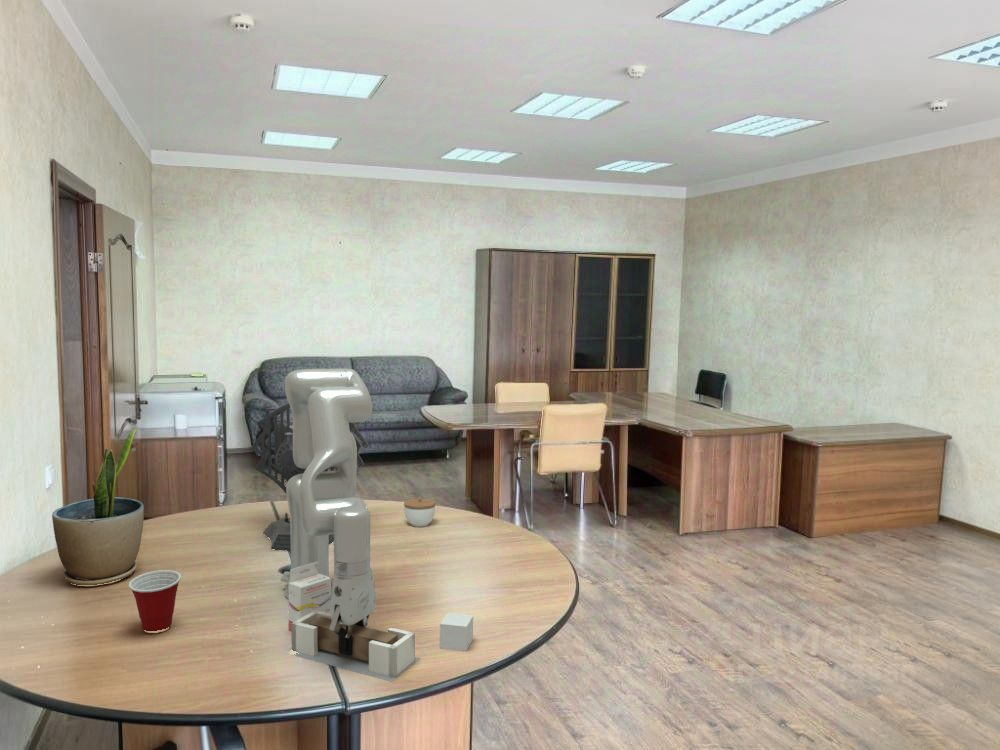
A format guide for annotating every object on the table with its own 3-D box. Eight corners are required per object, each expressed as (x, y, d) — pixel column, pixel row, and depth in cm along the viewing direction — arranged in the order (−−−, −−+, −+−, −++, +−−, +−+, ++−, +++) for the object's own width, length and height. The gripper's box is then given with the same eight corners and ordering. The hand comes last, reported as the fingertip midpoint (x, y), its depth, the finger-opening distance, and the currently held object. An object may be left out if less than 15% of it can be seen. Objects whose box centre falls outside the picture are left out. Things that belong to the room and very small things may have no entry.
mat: (285, 654, 158) (285, 652, 158) (318, 634, 168) (318, 632, 168) (391, 683, 147) (391, 681, 147) (420, 659, 157) (420, 658, 157)
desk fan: (330, 514, 265) (330, 389, 261) (382, 536, 241) (382, 398, 237) (239, 532, 243) (237, 395, 238) (286, 558, 218) (285, 407, 214)
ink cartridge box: (301, 638, 166) (300, 574, 165) (288, 632, 170) (287, 569, 168) (332, 626, 173) (331, 564, 172) (318, 620, 176) (318, 559, 175)
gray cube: (439, 650, 162) (439, 623, 161) (447, 638, 168) (447, 612, 167) (466, 653, 161) (466, 626, 160) (473, 641, 166) (473, 615, 166)
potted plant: (99, 597, 188) (94, 441, 184) (36, 585, 195) (29, 434, 191) (162, 569, 208) (158, 428, 204) (102, 560, 215) (98, 423, 211)
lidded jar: (424, 518, 263) (424, 492, 262) (441, 525, 254) (441, 498, 253) (398, 523, 256) (398, 496, 255) (415, 530, 247) (415, 503, 247)
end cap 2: (414, 660, 156) (414, 633, 155) (393, 677, 149) (393, 648, 148) (390, 654, 158) (390, 627, 158) (368, 670, 151) (368, 642, 151)
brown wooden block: (308, 645, 160) (308, 623, 160) (320, 638, 164) (320, 616, 163) (386, 665, 152) (386, 642, 151) (397, 657, 155) (397, 634, 155)
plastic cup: (119, 637, 165) (117, 585, 164) (148, 617, 176) (147, 568, 175) (164, 641, 164) (163, 588, 163) (191, 621, 174) (190, 571, 173)
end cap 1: (291, 650, 160) (291, 623, 159) (315, 635, 167) (315, 609, 166) (313, 656, 157) (313, 628, 157) (337, 641, 164) (337, 615, 164)
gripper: (342, 581, 147) (342, 670, 149) (389, 556, 162) (389, 637, 164) (312, 575, 150) (312, 662, 152) (360, 551, 165) (361, 630, 167)
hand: (352, 648), depth 158 cm, fingers closed on brown wooden block, 3 cm apart
